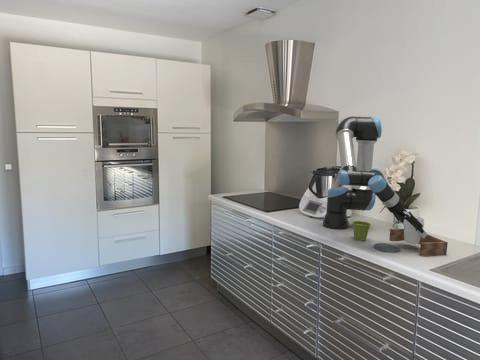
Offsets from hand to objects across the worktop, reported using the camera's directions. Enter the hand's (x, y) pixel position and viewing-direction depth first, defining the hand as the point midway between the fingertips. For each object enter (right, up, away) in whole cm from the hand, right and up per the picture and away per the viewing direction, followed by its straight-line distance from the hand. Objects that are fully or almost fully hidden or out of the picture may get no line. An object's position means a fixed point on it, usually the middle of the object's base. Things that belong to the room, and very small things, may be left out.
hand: (418, 233), depth 174 cm
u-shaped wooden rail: (-1, -7, +1) cm, 7 cm away
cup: (-3, -5, 0) cm, 6 cm away
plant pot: (-25, -5, +12) cm, 28 cm away
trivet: (-17, -7, -2) cm, 18 cm away
